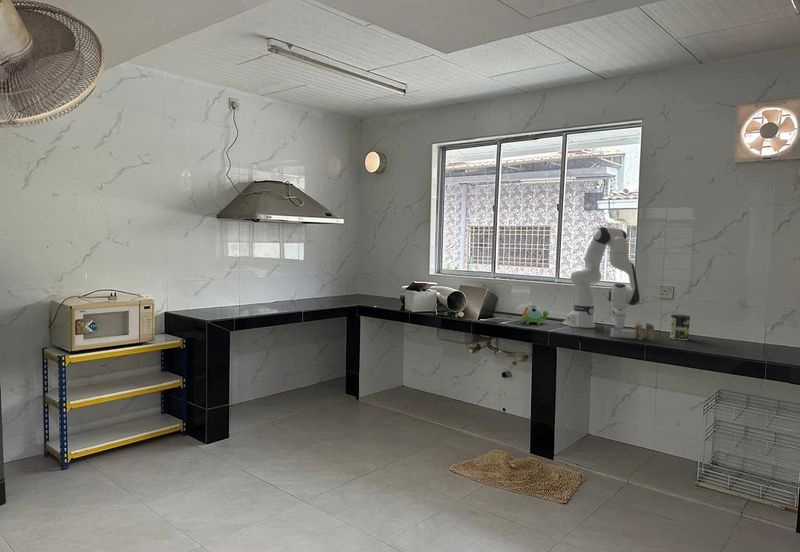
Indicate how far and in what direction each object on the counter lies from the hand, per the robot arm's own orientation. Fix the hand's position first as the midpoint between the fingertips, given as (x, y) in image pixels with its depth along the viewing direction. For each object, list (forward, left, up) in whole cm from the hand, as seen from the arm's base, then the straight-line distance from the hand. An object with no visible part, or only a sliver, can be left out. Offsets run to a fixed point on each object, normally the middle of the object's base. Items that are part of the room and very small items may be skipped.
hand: (616, 333), depth 337 cm
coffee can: (+19, +32, -3) cm, 38 cm away
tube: (+4, +4, -2) cm, 6 cm away
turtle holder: (-60, -11, -3) cm, 61 cm away
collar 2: (+12, +14, -2) cm, 19 cm away
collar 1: (+8, +9, -2) cm, 13 cm away
